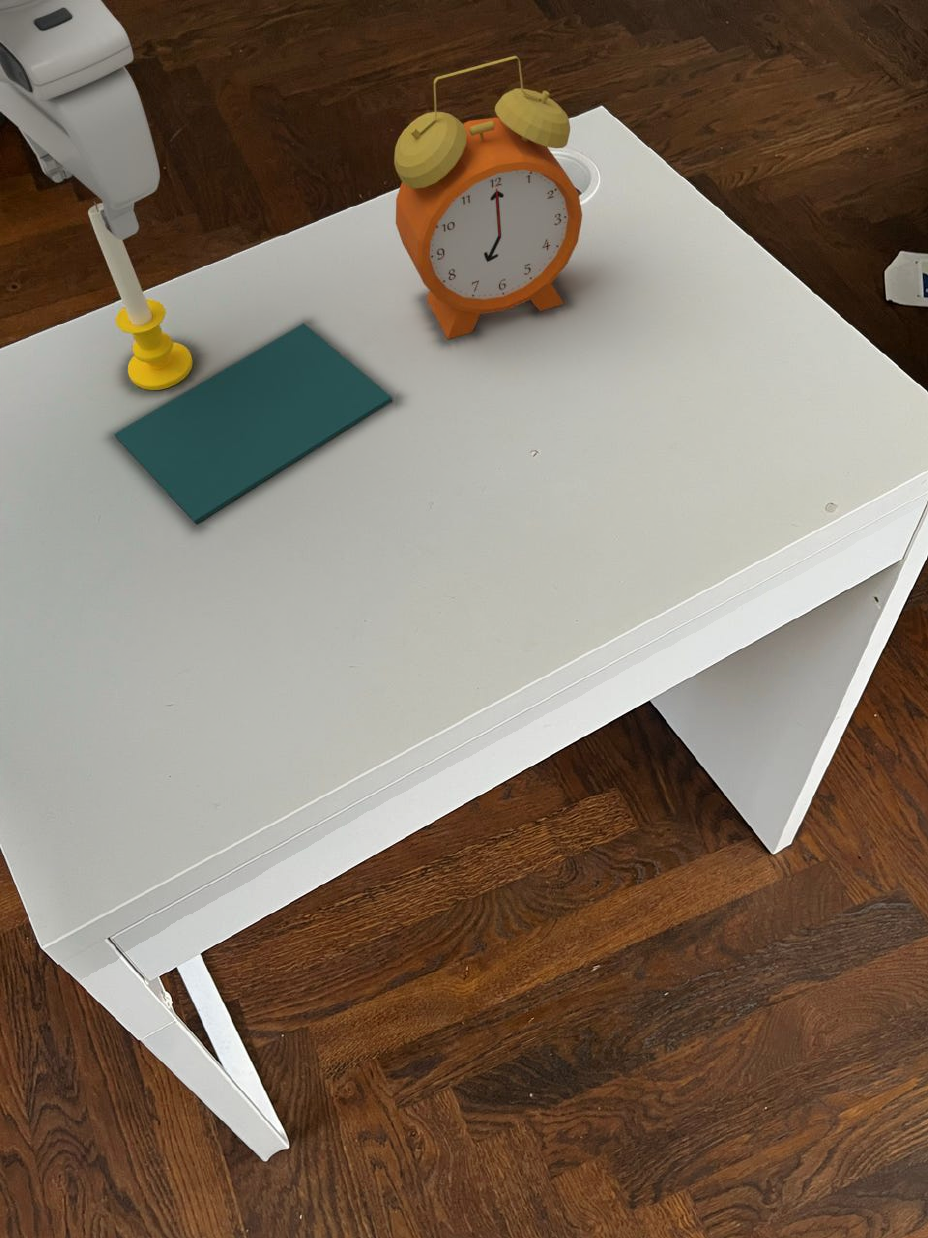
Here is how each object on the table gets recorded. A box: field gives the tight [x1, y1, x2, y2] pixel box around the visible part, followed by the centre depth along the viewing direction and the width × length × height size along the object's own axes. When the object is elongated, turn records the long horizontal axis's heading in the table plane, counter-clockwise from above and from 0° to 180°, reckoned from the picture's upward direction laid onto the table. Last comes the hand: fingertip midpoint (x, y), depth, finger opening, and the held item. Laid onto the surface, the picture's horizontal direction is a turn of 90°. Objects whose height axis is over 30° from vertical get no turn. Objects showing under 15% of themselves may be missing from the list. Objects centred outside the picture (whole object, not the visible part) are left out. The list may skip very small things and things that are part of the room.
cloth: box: [114, 322, 393, 525], centre depth 89 cm, size 18×12×1 cm, turn 129°
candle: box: [87, 200, 194, 391], centre depth 87 cm, size 5×5×16 cm
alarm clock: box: [393, 55, 583, 340], centre depth 86 cm, size 13×6×20 cm, turn 110°
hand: (91, 203), depth 81 cm, fingers open, 8 cm apart
